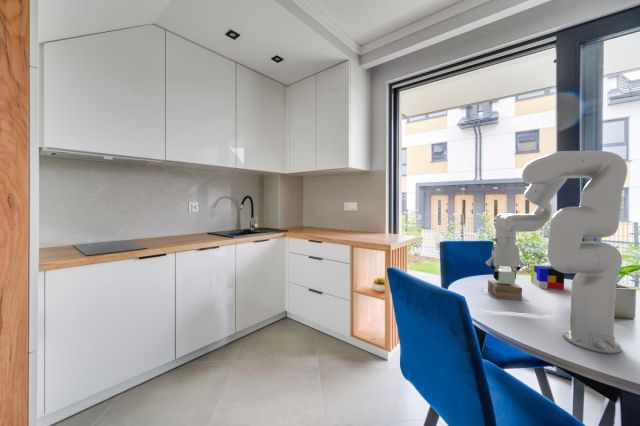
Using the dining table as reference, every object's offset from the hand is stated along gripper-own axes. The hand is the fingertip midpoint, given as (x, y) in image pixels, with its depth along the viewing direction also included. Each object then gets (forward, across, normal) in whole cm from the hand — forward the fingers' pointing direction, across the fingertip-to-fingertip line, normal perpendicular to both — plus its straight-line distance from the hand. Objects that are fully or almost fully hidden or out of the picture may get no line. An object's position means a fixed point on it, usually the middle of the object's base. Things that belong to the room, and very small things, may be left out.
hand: (504, 279), depth 122 cm
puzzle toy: (+9, +28, +24) cm, 38 cm away
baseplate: (+8, 0, 0) cm, 8 cm away
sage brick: (+1, 0, 0) cm, 1 cm away
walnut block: (+7, 0, 0) cm, 7 cm away
